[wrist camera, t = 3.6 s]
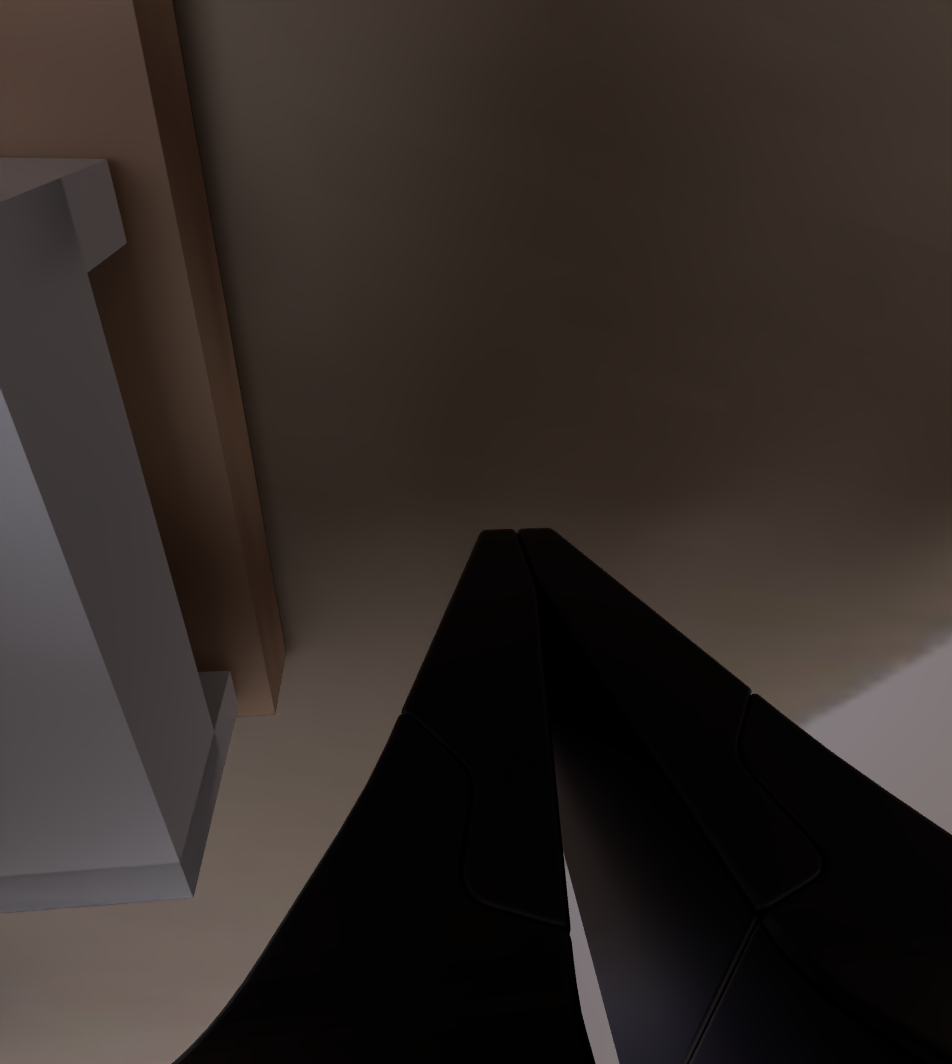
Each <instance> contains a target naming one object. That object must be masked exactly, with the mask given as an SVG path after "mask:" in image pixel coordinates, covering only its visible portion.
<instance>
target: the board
mask: <svg viewBox="0 0 952 1064" xmlns="http://www.w3.org/2000/svg"><path fill="white" fill-rule="evenodd" d="M0 157H15V158H84V159H107V162H108V166H109V170H110V174H111V179H112V183H113V187H114V191H115V195H116V199H117V204H118V208H119V212H120V216H121V220H122V224H123V229H124V233H125V237H126V241H127V243H126V244H125V245H124V246H122V247H121V248H120V249H118V250H117V251H116V252H114V253H113V254H112V255H110V256H109V257H108V258H106V259H105V260H104V261H102V262H101V263H100V264H98V265H97V266H96V267H94V268H93V269H92V270H90V271H89V272H88V273H87V274H88V278H89V281H90V285H91V288H92V292H93V296H94V299H95V303H96V307H97V310H98V314H99V317H100V321H101V325H102V328H103V332H104V335H105V339H106V343H107V346H108V350H109V353H110V357H111V361H112V364H113V368H114V371H115V375H116V379H117V382H118V386H119V390H120V393H121V397H122V400H123V404H124V408H125V411H126V415H127V418H128V422H129V426H130V429H131V433H132V436H133V440H134V444H135V447H136V451H137V454H138V458H139V462H140V465H141V469H142V473H143V476H144V480H145V483H146V487H147V491H148V494H149V498H150V501H151V505H152V509H153V512H154V516H155V519H156V523H157V527H158V530H159V534H160V537H161V541H162V545H163V548H164V552H165V556H166V559H167V563H168V566H169V570H170V574H171V577H172V581H173V584H174V588H175V592H176V595H177V599H178V602H179V606H180V610H181V613H182V617H183V620H184V624H185V628H186V631H187V635H188V639H189V642H190V646H191V649H192V653H193V657H194V660H195V664H196V667H197V671H198V672H213V671H230V673H231V677H232V681H233V686H234V690H235V694H236V698H237V702H238V709H237V713H236V717H245V716H263V715H275V713H276V707H277V702H278V696H279V690H280V685H281V679H282V673H283V667H284V662H285V656H286V650H285V644H284V638H283V633H282V627H281V621H280V615H279V610H278V604H277V598H276V593H275V587H274V581H273V575H272V570H271V564H270V558H269V552H268V547H267V541H266V535H265V529H264V524H263V518H262V512H261V506H260V501H259V495H258V489H257V484H256V478H255V472H254V466H253V461H252V455H251V449H250V443H249V438H248V432H247V426H246V420H245V415H244V409H243V403H242V398H241V392H240V386H239V380H238V375H237V369H236V363H235V357H234V352H233V346H232V340H231V334H230V329H229V323H228V317H227V311H226V306H225V300H224V294H223V289H222V283H221V277H220V271H219V266H218V260H217V254H216V248H215V243H214V237H213V231H212V225H211V220H210V214H209V208H208V203H207V197H206V191H205V185H204V180H203V174H202V168H201V162H200V157H199V151H198V145H197V139H196V134H195V128H194V122H193V116H192V111H191V105H190V99H189V94H188V88H187V82H186V76H185V71H184V65H183V59H182V53H181V48H180V42H179V36H178V30H177V25H176V19H175V13H174V8H173V2H172V0H0Z"/></svg>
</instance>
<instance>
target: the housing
mask: <svg viewBox="0 0 952 1064" xmlns="http://www.w3.org/2000/svg"><path fill="white" fill-rule="evenodd" d="M126 243H127V241H126V237H125V233H124V229H123V224H122V220H121V216H120V212H119V208H118V204H117V199H116V195H115V191H114V187H113V183H112V179H111V174H110V170H109V166H108V162H107V159H84V158H15V157H0V913H10V912H23V911H36V910H48V909H61V908H74V907H87V906H99V905H112V904H125V903H137V902H150V901H163V900H175V899H188V898H193V897H194V893H195V888H196V884H197V880H198V875H199V871H200V867H201V863H202V858H203V854H204V850H205V846H206V841H207V837H208V833H209V828H210V824H211V820H212V816H213V811H214V807H215V803H216V799H217V794H218V790H219V786H220V781H221V777H222V773H223V769H224V764H225V760H226V756H227V751H228V747H229V743H230V739H231V734H232V730H233V726H234V722H235V717H236V713H237V709H238V702H237V698H236V694H235V690H234V686H233V681H232V677H231V673H230V671H213V672H198V671H197V667H196V664H195V660H194V657H193V653H192V649H191V646H190V642H189V639H188V635H187V631H186V628H185V624H184V620H183V617H182V613H181V610H180V606H179V602H178V599H177V595H176V592H175V588H174V584H173V581H172V577H171V574H170V570H169V566H168V563H167V559H166V556H165V552H164V548H163V545H162V541H161V537H160V534H159V530H158V527H157V523H156V519H155V516H154V512H153V509H152V505H151V501H150V498H149V494H148V491H147V487H146V483H145V480H144V476H143V473H142V469H141V465H140V462H139V458H138V454H137V451H136V447H135V444H134V440H133V436H132V433H131V429H130V426H129V422H128V418H127V415H126V411H125V408H124V404H123V400H122V397H121V393H120V390H119V386H118V382H117V379H116V375H115V371H114V368H113V364H112V361H111V357H110V353H109V350H108V346H107V343H106V339H105V335H104V332H103V328H102V325H101V321H100V317H99V314H98V310H97V307H96V303H95V299H94V296H93V292H92V288H91V285H90V281H89V278H88V274H87V273H88V272H89V271H90V270H92V269H93V268H94V267H96V266H97V265H98V264H100V263H101V262H102V261H104V260H105V259H106V258H108V257H109V256H110V255H112V254H113V253H114V252H116V251H117V250H118V249H120V248H121V247H122V246H124V245H125V244H126Z"/></svg>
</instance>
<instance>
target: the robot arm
mask: <svg viewBox="0 0 952 1064" xmlns="http://www.w3.org/2000/svg"><path fill="white" fill-rule="evenodd" d="M401 713H402V714H401V715H400V716H399V717H398V719H397V721H396V723H395V726H394V728H393V730H392V732H391V735H390V737H389V739H388V741H387V744H386V746H385V748H384V750H383V752H382V754H381V756H380V758H379V760H378V762H377V764H376V766H375V768H374V770H373V772H372V774H371V776H370V778H369V780H368V782H367V784H366V786H365V788H364V789H363V791H362V793H361V795H360V796H359V798H358V800H357V801H356V803H355V805H354V806H353V808H352V810H351V812H350V813H349V815H348V817H347V818H346V820H345V822H344V824H343V825H342V827H341V829H340V830H339V832H338V834H337V835H336V837H335V838H334V840H333V842H332V843H331V845H330V846H329V848H328V850H327V851H326V853H325V854H324V856H323V857H322V859H321V861H320V862H319V864H318V865H317V867H316V869H315V870H314V872H313V873H312V875H311V876H310V878H309V880H308V881H307V883H306V884H305V886H304V888H303V889H302V891H301V892H300V894H299V895H298V897H297V899H296V900H295V902H294V903H293V905H292V907H291V908H290V910H289V911H288V913H287V914H286V916H285V918H284V919H283V921H282V922H281V924H280V926H279V927H278V929H277V930H276V932H275V934H274V935H273V937H272V938H271V940H270V941H269V943H268V945H267V946H266V948H265V949H264V951H263V953H262V954H261V956H260V957H259V959H258V960H257V962H256V963H255V965H254V966H253V968H252V969H251V971H250V972H249V974H248V975H247V977H246V978H245V980H244V981H243V983H242V984H241V986H240V987H239V988H238V990H237V991H236V992H235V994H234V995H233V997H232V998H231V999H230V1001H229V1002H228V1003H227V1005H226V1006H225V1007H224V1009H223V1010H222V1011H221V1012H220V1014H219V1015H218V1016H217V1017H216V1018H215V1020H214V1021H213V1022H212V1023H211V1025H210V1026H209V1027H208V1028H207V1029H206V1030H205V1031H204V1032H203V1033H202V1034H201V1036H200V1037H199V1038H198V1039H197V1040H196V1041H195V1042H194V1043H193V1044H192V1045H191V1046H190V1047H189V1048H188V1049H187V1050H186V1051H185V1052H184V1053H183V1054H182V1055H181V1056H180V1057H179V1058H178V1059H176V1060H175V1061H174V1062H173V1063H172V1064H595V1060H594V1057H593V1053H592V1049H591V1046H590V1042H589V1039H588V1035H587V1032H586V1028H585V1024H584V1020H583V1016H582V1013H581V1006H580V1000H579V995H578V989H577V983H576V975H575V967H574V959H573V950H572V941H571V937H570V917H569V908H568V897H567V887H566V876H565V866H564V856H563V851H564V855H565V859H566V863H567V867H568V870H569V874H570V878H571V882H572V885H573V889H574V893H575V896H576V901H577V904H578V908H579V912H580V916H581V920H582V923H583V927H584V931H585V935H586V938H587V942H588V946H589V949H590V953H591V957H592V961H593V965H594V969H595V973H596V976H597V980H598V984H599V988H600V991H601V995H602V999H603V1003H604V1007H605V1010H606V1014H607V1018H608V1021H609V1025H610V1029H611V1033H612V1036H613V1041H614V1044H615V1048H616V1052H617V1056H618V1060H619V1063H620V1064H952V835H951V834H950V833H948V832H947V831H945V830H944V829H942V828H941V827H939V826H938V825H936V824H935V823H933V822H932V821H930V820H929V819H928V818H926V817H925V816H923V815H922V814H920V813H919V812H917V811H916V810H914V809H913V808H911V807H910V806H909V805H907V804H906V803H904V802H903V801H901V800H900V799H898V798H897V797H895V796H894V795H892V794H891V793H889V792H888V791H886V790H885V789H884V788H882V787H881V786H879V785H878V784H877V783H875V782H874V781H872V780H871V779H869V778H868V777H867V776H865V775H864V774H862V773H861V772H860V771H858V770H857V769H855V768H854V767H853V766H851V765H849V764H848V763H847V762H845V761H844V760H843V759H841V758H840V757H838V756H837V755H835V754H834V753H833V752H831V751H830V750H829V749H827V748H826V747H825V746H823V745H822V744H821V743H820V742H818V741H817V740H816V739H814V738H813V737H812V736H810V735H809V734H808V733H807V732H805V731H804V730H803V729H801V728H800V727H799V726H797V725H796V724H795V723H794V722H792V721H791V720H790V719H788V718H787V717H786V716H784V715H783V714H782V713H781V712H780V711H778V710H777V709H776V708H775V707H773V706H772V705H771V704H770V703H768V702H767V701H766V700H765V699H763V698H762V697H761V696H760V695H758V694H752V695H751V689H750V688H749V687H748V686H747V685H746V684H744V683H743V682H742V681H741V680H739V679H738V678H737V677H736V676H734V675H733V674H732V673H731V672H729V671H728V670H727V669H726V668H724V667H723V666H722V665H721V664H719V663H718V662H717V661H716V660H715V659H713V658H712V657H711V656H710V655H708V654H707V653H706V652H705V651H703V650H702V649H701V648H700V647H698V646H697V645H696V644H695V643H693V642H692V641H691V640H690V639H688V638H687V637H686V636H685V635H683V634H682V633H681V632H680V631H679V630H677V629H676V628H675V627H674V626H672V625H671V624H670V623H669V622H667V621H666V620H665V619H664V618H662V617H661V616H660V615H659V614H657V613H656V612H655V611H654V610H652V609H651V608H650V607H649V606H647V605H646V604H645V603H644V602H643V601H641V600H640V599H639V598H638V597H636V596H635V595H634V594H633V593H631V592H630V591H629V590H628V589H626V588H625V587H624V586H623V585H621V584H620V583H619V582H618V581H616V580H615V579H614V578H613V577H611V576H610V575H609V574H608V573H607V572H605V571H604V570H603V569H602V568H600V567H599V566H598V565H597V564H595V563H594V562H593V561H592V560H590V559H589V558H588V557H587V556H585V555H584V554H583V553H582V552H580V551H579V550H578V549H577V548H575V547H574V546H573V545H572V544H570V543H569V542H568V541H567V540H566V539H564V538H563V537H562V536H561V535H559V534H558V533H557V532H556V531H554V530H553V529H551V528H526V529H520V530H518V532H517V533H516V532H515V531H514V530H512V529H496V530H483V531H482V532H481V533H480V534H479V536H478V538H477V541H476V543H475V545H474V547H473V550H472V552H471V554H470V557H469V559H468V561H467V563H466V566H465V568H464V570H463V572H462V575H461V577H460V579H459V581H458V584H457V586H456V588H455V591H454V593H453V595H452V597H451V600H450V602H449V604H448V606H447V609H446V611H445V613H444V616H443V618H442V620H441V622H440V625H439V627H438V629H437V631H436V634H435V636H434V638H433V640H432V643H431V645H430V647H429V650H428V652H427V654H426V656H425V659H424V661H423V663H422V665H421V668H420V670H419V672H418V674H417V677H416V679H415V681H414V684H413V686H412V688H411V690H410V693H409V695H408V697H407V699H406V702H405V704H404V706H403V708H402V712H401Z"/></svg>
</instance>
